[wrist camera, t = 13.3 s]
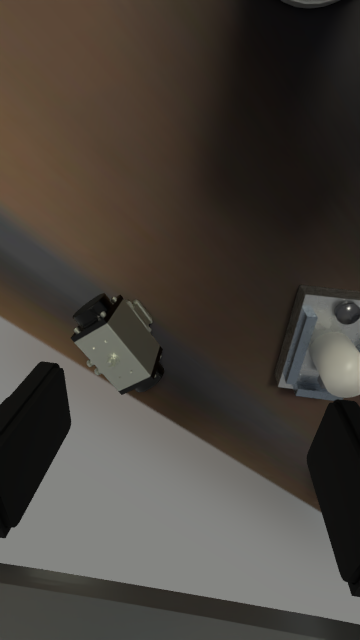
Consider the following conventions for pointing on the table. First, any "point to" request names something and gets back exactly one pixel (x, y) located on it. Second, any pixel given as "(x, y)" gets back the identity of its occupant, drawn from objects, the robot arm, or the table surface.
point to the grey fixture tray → (315, 335)
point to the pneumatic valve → (119, 342)
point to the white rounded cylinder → (337, 364)
